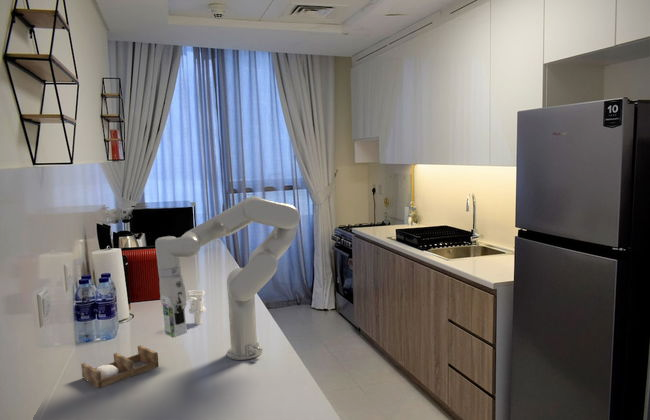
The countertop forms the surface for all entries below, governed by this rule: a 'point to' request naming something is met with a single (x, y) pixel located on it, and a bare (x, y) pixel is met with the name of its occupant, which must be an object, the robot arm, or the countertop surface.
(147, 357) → the rack
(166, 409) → the countertop surface
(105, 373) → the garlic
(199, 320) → the white slotted cylinder
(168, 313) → the syrup box
